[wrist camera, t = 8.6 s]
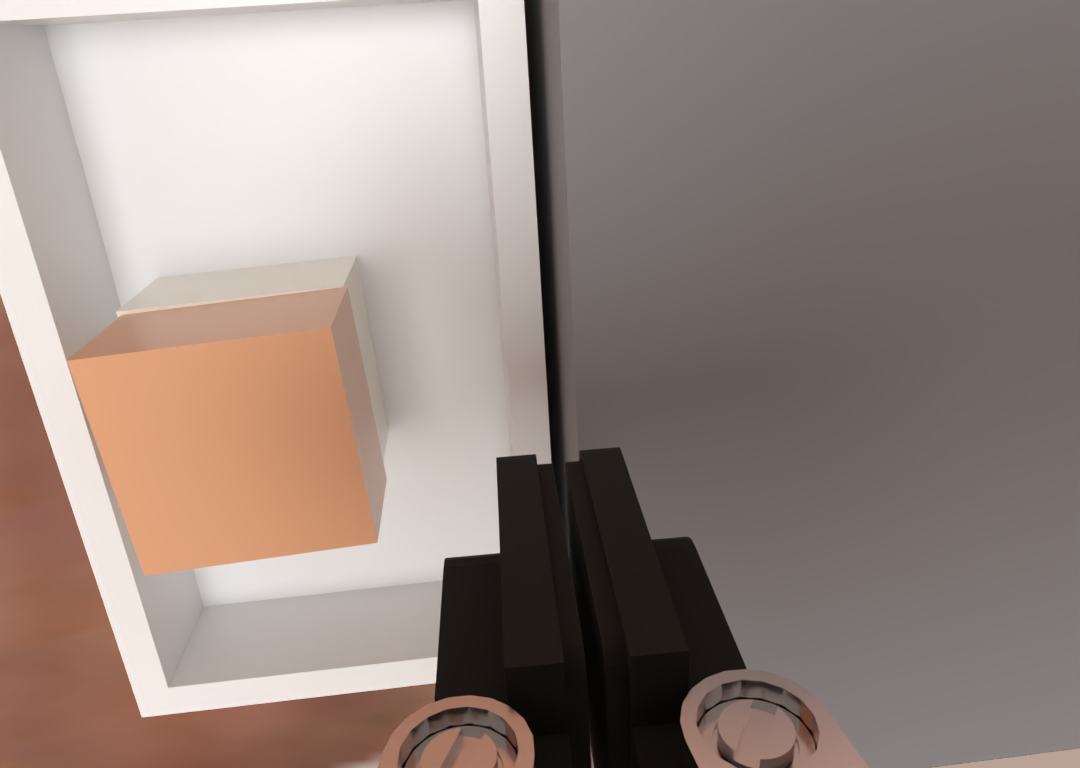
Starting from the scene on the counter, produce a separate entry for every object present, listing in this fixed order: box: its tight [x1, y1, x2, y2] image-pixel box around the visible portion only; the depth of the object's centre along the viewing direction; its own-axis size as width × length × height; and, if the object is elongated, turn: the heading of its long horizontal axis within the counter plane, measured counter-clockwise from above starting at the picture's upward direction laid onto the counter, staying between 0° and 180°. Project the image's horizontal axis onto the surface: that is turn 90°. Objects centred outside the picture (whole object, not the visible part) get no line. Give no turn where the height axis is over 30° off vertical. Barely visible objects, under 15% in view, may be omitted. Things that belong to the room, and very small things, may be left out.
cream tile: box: [116, 255, 389, 462], centre depth 18 cm, size 4×4×2 cm
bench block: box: [524, 0, 1080, 768], centre depth 18 cm, size 12×20×6 cm, turn 3°
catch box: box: [0, 0, 551, 717], centre depth 18 cm, size 10×16×4 cm, turn 3°
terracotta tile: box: [67, 287, 387, 576], centre depth 16 cm, size 4×4×2 cm
